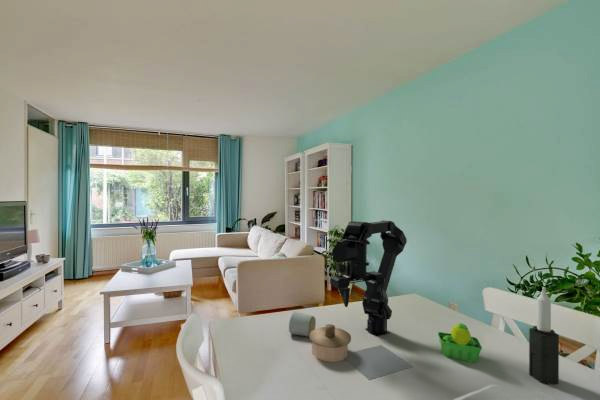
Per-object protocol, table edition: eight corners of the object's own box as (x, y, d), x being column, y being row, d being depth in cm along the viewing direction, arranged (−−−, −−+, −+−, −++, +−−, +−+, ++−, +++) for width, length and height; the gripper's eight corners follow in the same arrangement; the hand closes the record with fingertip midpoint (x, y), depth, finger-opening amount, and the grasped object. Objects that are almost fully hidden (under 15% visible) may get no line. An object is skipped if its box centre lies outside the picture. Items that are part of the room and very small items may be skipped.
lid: (336, 326, 102) (336, 315, 102) (359, 342, 90) (359, 330, 90) (302, 333, 96) (302, 321, 97) (322, 351, 85) (322, 338, 85)
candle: (526, 373, 84) (527, 284, 84) (543, 372, 84) (544, 284, 84) (543, 384, 78) (543, 289, 79) (561, 383, 79) (561, 289, 79)
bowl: (335, 342, 101) (335, 327, 101) (354, 358, 91) (354, 341, 91) (306, 349, 96) (306, 333, 96) (323, 366, 86) (323, 349, 86)
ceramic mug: (310, 340, 102) (310, 318, 102) (288, 337, 104) (288, 315, 105) (318, 329, 112) (318, 308, 112) (298, 325, 115) (298, 305, 115)
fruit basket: (476, 353, 95) (476, 317, 95) (483, 367, 86) (483, 328, 87) (437, 347, 99) (437, 312, 99) (440, 360, 90) (440, 323, 90)
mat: (381, 346, 98) (381, 344, 98) (413, 367, 86) (413, 366, 86) (340, 356, 92) (340, 355, 92) (369, 381, 79) (369, 379, 79)
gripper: (365, 253, 112) (364, 294, 112) (322, 256, 104) (321, 301, 104) (385, 258, 102) (385, 303, 102) (339, 262, 94) (339, 312, 94)
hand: (357, 304), depth 100 cm, fingers open, 9 cm apart
